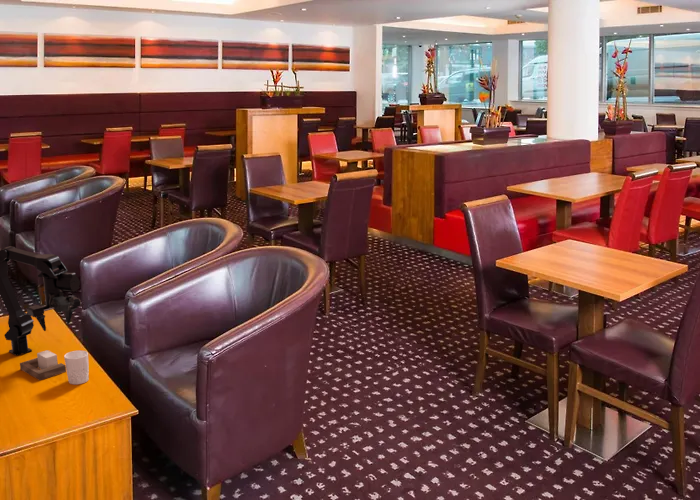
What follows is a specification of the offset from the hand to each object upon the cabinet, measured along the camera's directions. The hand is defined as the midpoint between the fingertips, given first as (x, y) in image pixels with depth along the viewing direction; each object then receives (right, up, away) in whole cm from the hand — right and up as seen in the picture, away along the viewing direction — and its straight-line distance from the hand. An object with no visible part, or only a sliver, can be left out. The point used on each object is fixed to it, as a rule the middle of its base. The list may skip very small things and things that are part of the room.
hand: (56, 327), depth 277 cm
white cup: (+15, -17, -18) cm, 29 cm away
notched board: (-1, -15, -10) cm, 18 cm away
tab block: (0, -14, -8) cm, 17 cm away
